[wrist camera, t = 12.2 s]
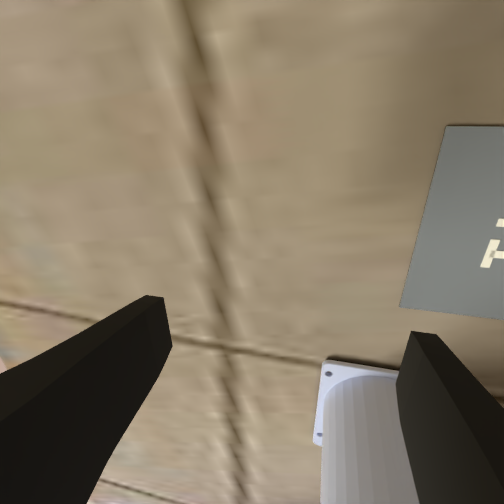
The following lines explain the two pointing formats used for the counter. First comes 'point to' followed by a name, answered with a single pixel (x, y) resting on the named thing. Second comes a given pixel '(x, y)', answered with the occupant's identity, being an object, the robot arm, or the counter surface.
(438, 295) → the tile
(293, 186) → the counter surface
